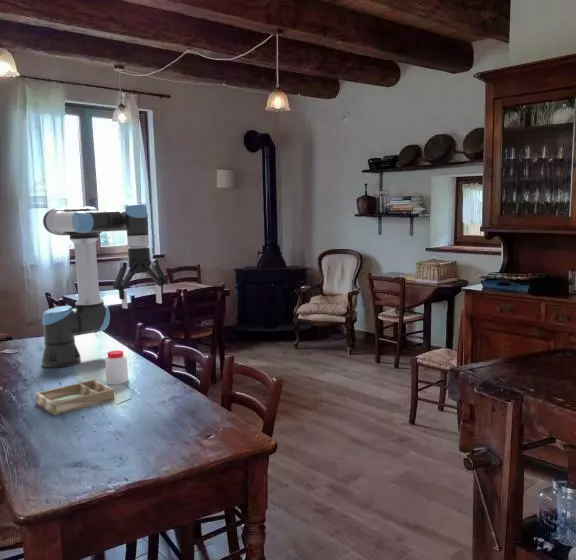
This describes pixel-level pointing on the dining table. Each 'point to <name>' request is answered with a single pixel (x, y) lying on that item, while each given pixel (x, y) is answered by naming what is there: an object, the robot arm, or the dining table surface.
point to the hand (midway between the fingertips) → (142, 305)
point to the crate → (74, 397)
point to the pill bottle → (116, 367)
